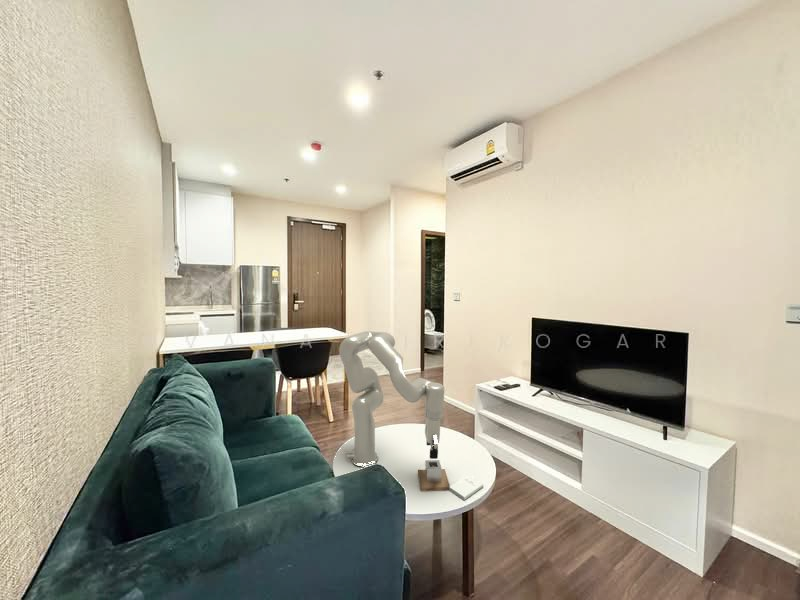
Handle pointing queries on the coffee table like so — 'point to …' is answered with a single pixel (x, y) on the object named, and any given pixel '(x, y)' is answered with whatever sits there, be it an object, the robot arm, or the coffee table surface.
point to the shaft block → (433, 486)
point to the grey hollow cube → (433, 471)
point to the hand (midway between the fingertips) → (431, 451)
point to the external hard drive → (465, 487)
